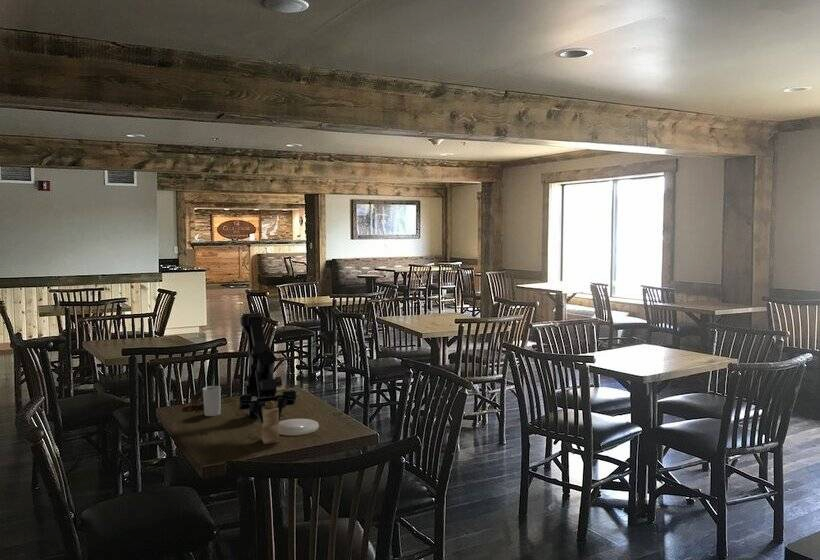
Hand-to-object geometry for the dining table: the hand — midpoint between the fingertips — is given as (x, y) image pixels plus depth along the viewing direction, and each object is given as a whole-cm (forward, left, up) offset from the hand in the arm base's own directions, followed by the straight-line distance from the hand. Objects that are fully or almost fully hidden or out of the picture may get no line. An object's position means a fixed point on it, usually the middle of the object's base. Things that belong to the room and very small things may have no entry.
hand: (270, 422), depth 211 cm
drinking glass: (-13, +41, -7) cm, 44 cm away
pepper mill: (0, +1, -7) cm, 7 cm away
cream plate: (+11, +10, -7) cm, 17 cm away
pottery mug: (-13, +55, -7) cm, 57 cm away
